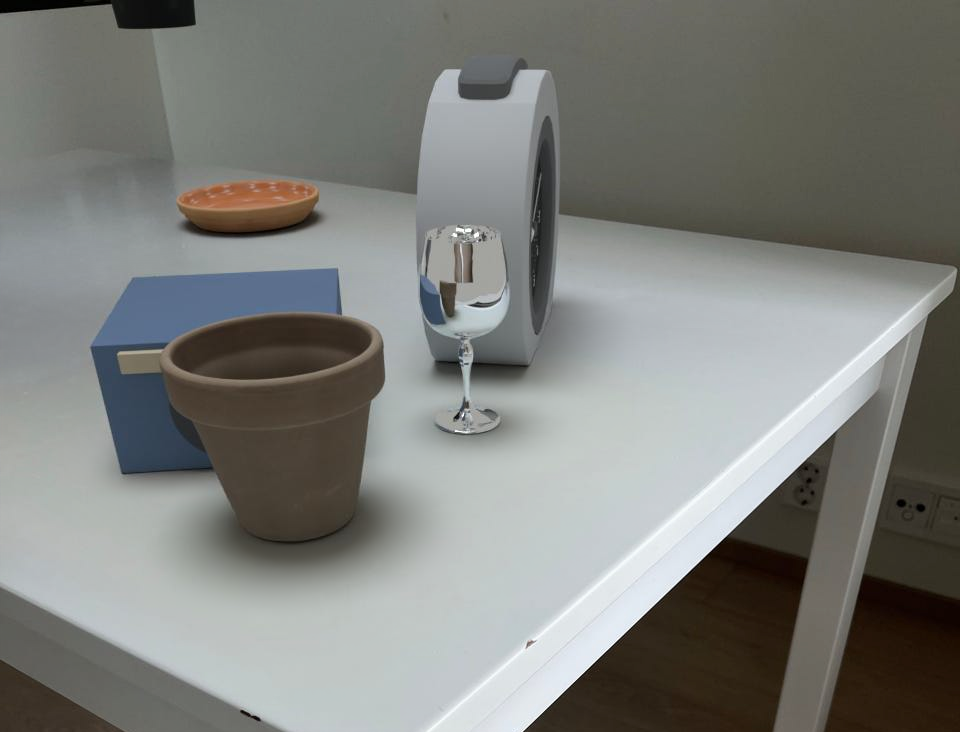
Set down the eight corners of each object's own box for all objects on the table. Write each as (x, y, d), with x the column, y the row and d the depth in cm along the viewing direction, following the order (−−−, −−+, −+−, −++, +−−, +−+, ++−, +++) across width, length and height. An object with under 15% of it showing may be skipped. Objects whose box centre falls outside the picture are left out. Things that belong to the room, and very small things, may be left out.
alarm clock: (521, 385, 72) (524, 73, 61) (421, 380, 74) (406, 72, 62) (556, 297, 89) (564, 40, 78) (475, 294, 91) (470, 40, 79)
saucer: (156, 221, 116) (150, 193, 114) (273, 199, 125) (269, 173, 123) (227, 245, 106) (222, 215, 104) (348, 219, 115) (346, 192, 113)
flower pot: (194, 483, 60) (160, 316, 55) (380, 461, 62) (366, 298, 57) (193, 581, 51) (153, 393, 45) (412, 552, 53) (400, 369, 47)
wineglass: (446, 399, 70) (439, 219, 63) (522, 410, 69) (524, 226, 62) (410, 430, 66) (399, 241, 59) (491, 443, 64) (488, 249, 57)
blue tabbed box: (119, 477, 61) (87, 348, 57) (156, 389, 73) (132, 277, 68) (348, 463, 62) (336, 336, 58) (348, 378, 74) (337, 267, 69)
